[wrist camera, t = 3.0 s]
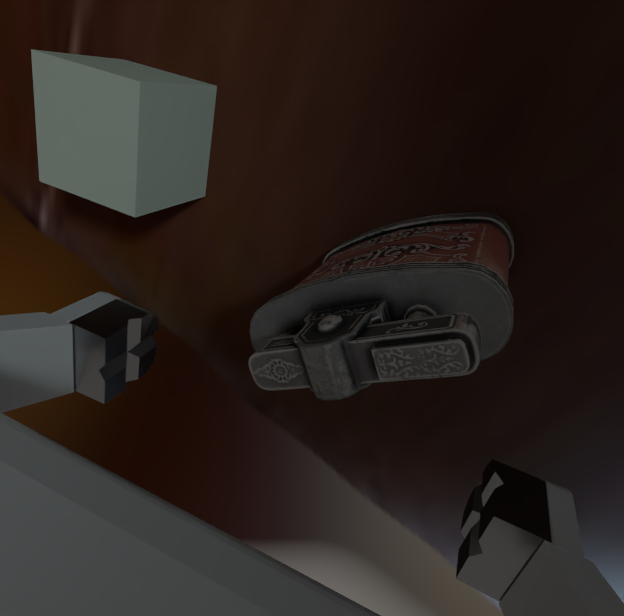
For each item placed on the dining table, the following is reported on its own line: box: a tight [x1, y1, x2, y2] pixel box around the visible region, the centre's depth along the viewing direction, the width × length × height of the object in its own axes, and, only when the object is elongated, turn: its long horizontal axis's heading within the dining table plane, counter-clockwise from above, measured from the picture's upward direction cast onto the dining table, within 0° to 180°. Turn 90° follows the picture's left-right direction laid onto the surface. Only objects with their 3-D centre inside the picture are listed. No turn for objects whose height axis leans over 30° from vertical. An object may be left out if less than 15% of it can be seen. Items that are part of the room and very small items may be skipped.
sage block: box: [31, 50, 217, 217], centre depth 20 cm, size 5×5×5 cm
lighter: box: [248, 212, 514, 401], centre depth 16 cm, size 8×3×10 cm, turn 109°
